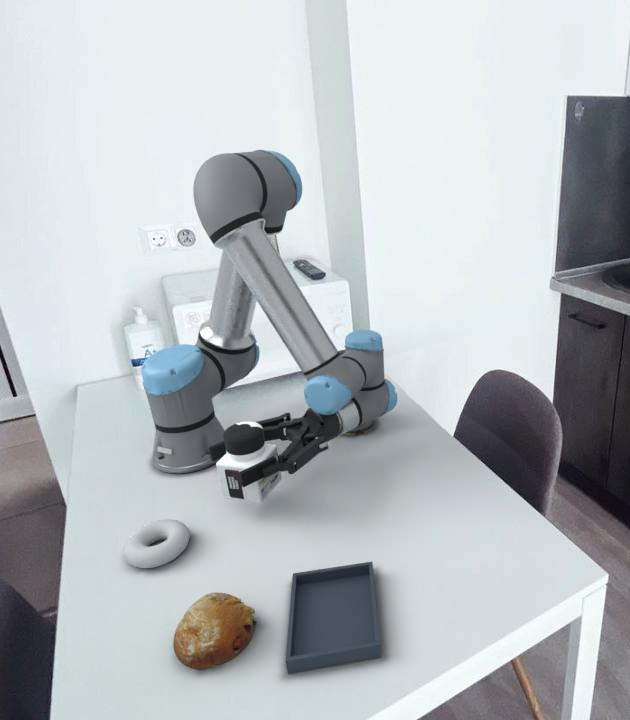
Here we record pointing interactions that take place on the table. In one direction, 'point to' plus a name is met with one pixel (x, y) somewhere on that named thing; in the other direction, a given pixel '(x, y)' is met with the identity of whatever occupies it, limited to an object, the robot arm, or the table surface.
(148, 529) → the donut
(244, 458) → the container
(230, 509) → the table surface
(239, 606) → the bread roll
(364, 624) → the tray
